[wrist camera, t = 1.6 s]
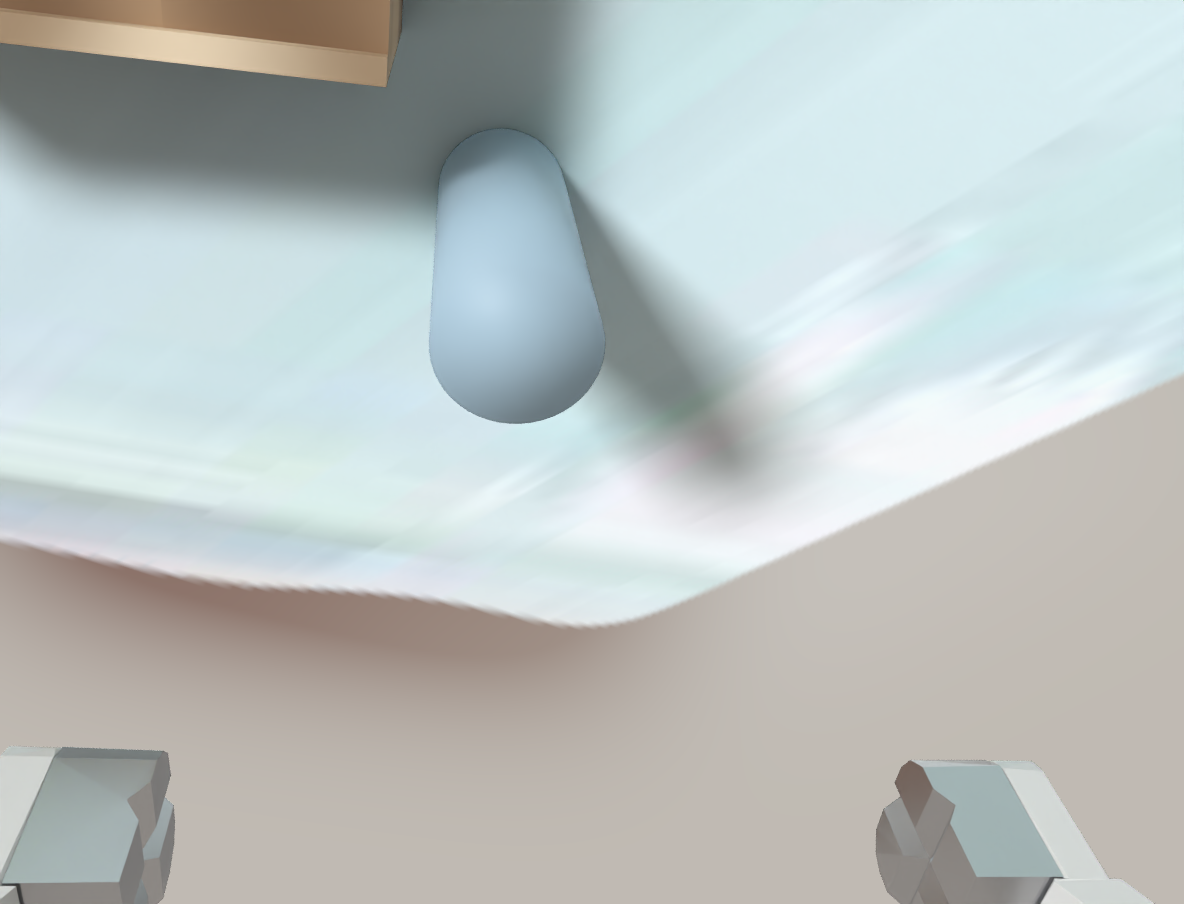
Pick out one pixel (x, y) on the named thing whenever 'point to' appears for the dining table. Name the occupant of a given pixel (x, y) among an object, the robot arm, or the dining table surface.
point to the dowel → (511, 284)
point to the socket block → (221, 33)
